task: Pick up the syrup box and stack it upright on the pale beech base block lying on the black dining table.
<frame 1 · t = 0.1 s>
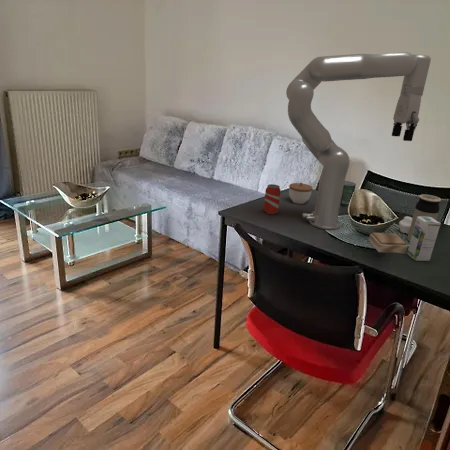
hand: (401, 138, 152), 37 cm above the table, tool pointing down, fingers open, 9 cm apart
lidded jar: (298, 202, 190), on the table
base: (386, 247, 147), on the table
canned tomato: (342, 205, 190), on the table
syrup box: (417, 257, 140), on the table
beverage can: (270, 212, 174), on the table
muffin: (404, 232, 162), on the table
travel mug: (418, 242, 154), on the table
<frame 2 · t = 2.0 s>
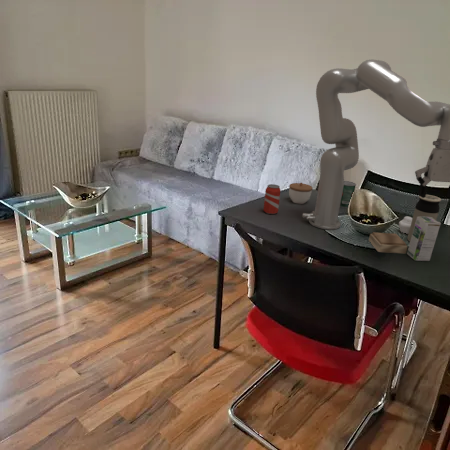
hand: (435, 197, 132), 22 cm above the table, tool pointing down, fingers open, 9 cm apart
nothing on the table moved.
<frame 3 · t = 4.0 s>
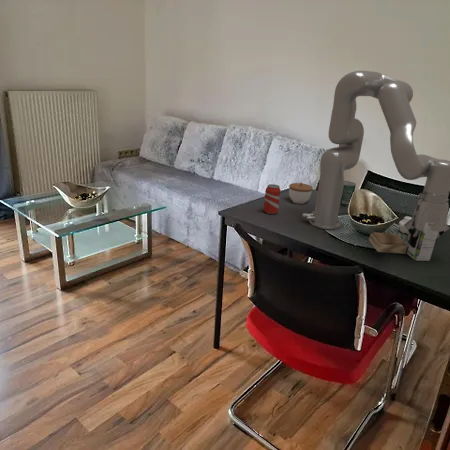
hand: (421, 246, 139), 4 cm above the table, tool pointing down, fingers closed on syrup box, 5 cm apart
syrup box: (417, 257, 140), on the table, touching gripper
everything else where it was.
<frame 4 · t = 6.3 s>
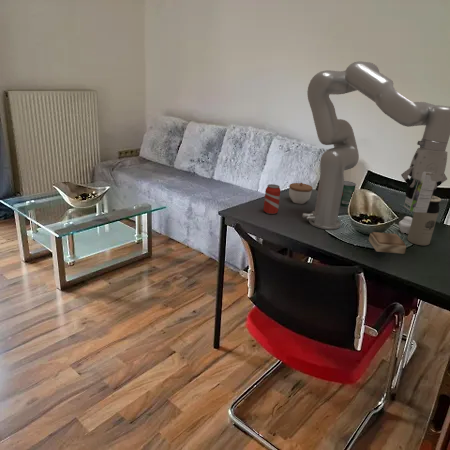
hand: (418, 197, 135), 21 cm above the table, tool pointing down, fingers closed on syrup box, 5 cm apart
syrup box: (414, 210, 137), point 16 cm above the table, touching gripper
everything else where it was.
when the fingers open (10 cm above the table, at t = 9.4 s): syrup box drops 2 cm, point 3 cm above the table.
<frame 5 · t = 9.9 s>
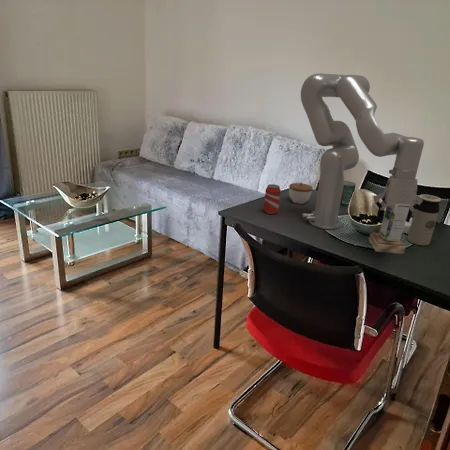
hand: (393, 220, 143), 11 cm above the table, tool pointing down, fingers open, 9 cm apart
syrup box: (389, 238, 146), point 3 cm above the table
everything else where it was.
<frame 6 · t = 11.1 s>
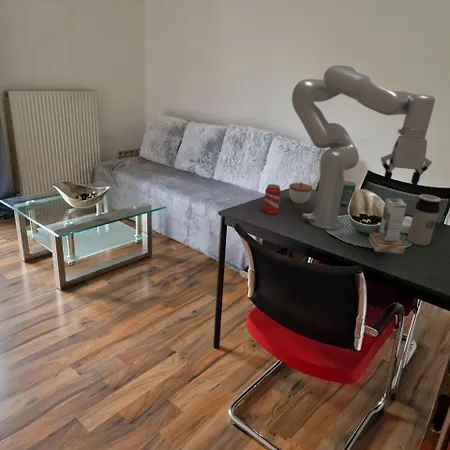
hand: (400, 183, 138), 24 cm above the table, tool pointing down, fingers open, 9 cm apart
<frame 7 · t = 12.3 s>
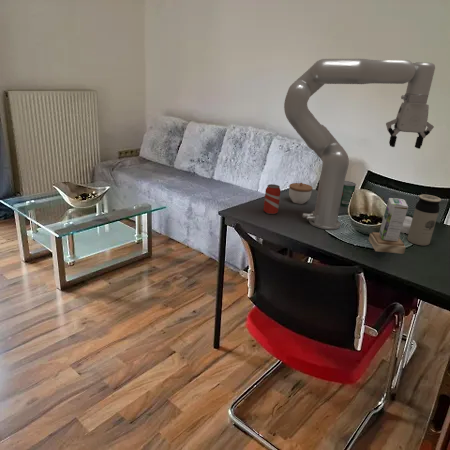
hand: (404, 147, 149), 34 cm above the table, tool pointing down, fingers open, 9 cm apart
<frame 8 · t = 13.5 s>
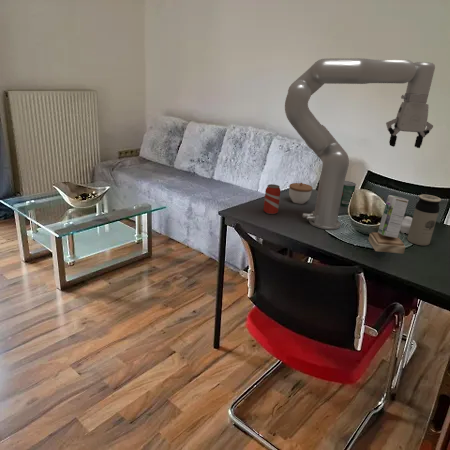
hand: (404, 146, 149), 34 cm above the table, tool pointing down, fingers open, 9 cm apart
at the end: syrup box 0.2 cm off-centre on the base, point 4.5 cm above the base's base; syrup box tilted 11°; the gripper is holding nothing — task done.
